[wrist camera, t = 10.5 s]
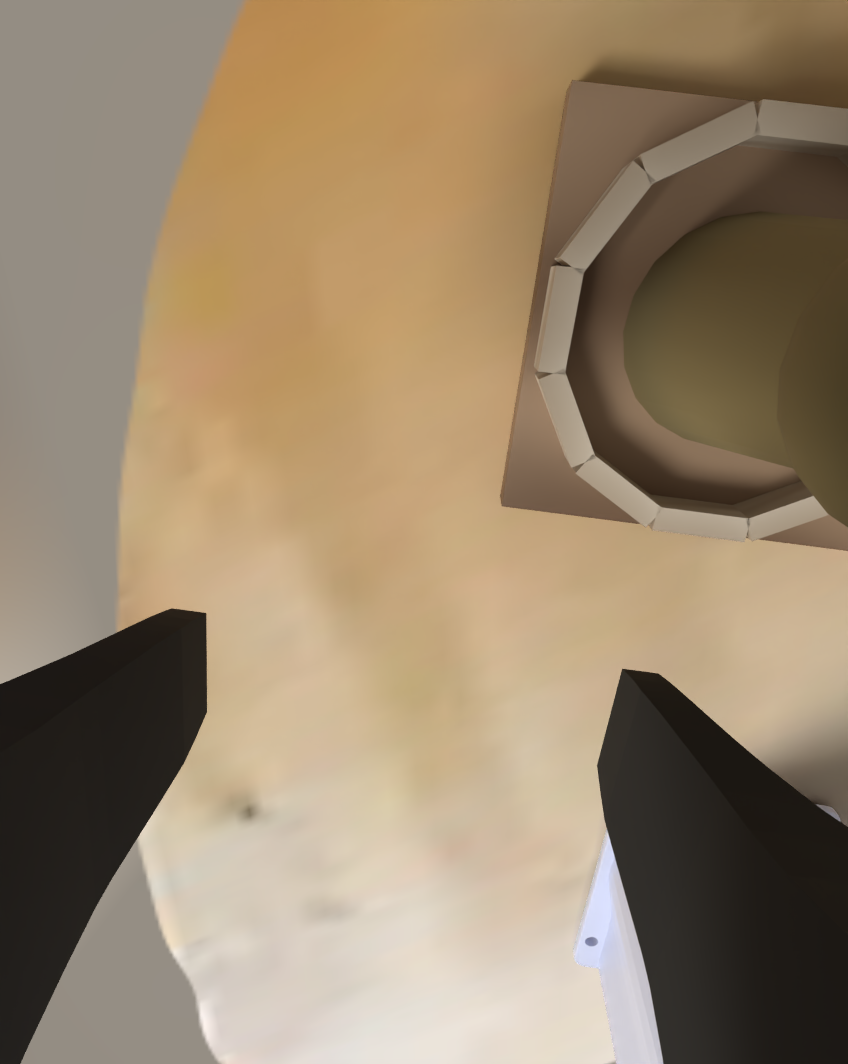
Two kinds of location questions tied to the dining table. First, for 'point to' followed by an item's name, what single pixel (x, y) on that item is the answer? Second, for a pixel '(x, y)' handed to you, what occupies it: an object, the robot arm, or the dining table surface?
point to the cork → (751, 344)
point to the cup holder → (606, 295)
